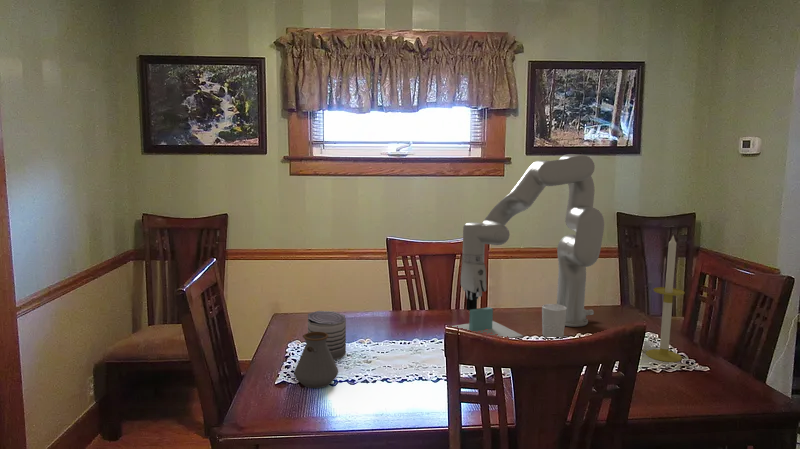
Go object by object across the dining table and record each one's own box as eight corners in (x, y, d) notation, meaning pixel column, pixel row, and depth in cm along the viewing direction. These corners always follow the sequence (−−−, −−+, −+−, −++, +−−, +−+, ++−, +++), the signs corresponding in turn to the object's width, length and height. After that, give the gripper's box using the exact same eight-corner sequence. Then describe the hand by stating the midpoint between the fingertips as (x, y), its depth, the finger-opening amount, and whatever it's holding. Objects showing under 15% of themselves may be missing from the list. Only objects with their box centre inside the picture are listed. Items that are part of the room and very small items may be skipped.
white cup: (567, 340, 188) (569, 310, 186) (543, 339, 188) (545, 310, 187) (561, 332, 196) (563, 303, 194) (538, 332, 196) (539, 303, 194)
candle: (685, 363, 169) (696, 237, 164) (649, 360, 171) (659, 235, 166) (676, 351, 179) (686, 232, 174) (642, 348, 181) (651, 230, 176)
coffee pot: (298, 373, 158) (297, 320, 156) (340, 373, 158) (339, 320, 156) (284, 408, 137) (283, 348, 135) (332, 409, 137) (332, 348, 135)
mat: (491, 321, 206) (491, 320, 206) (522, 337, 190) (522, 335, 190) (445, 328, 198) (445, 326, 198) (474, 345, 182) (474, 343, 182)
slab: (488, 326, 199) (489, 307, 198) (492, 328, 197) (492, 308, 196) (469, 329, 195) (469, 309, 194) (472, 331, 194) (472, 311, 193)
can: (323, 344, 181) (323, 307, 179) (353, 352, 175) (353, 313, 173) (299, 356, 171) (299, 317, 169) (330, 364, 165) (330, 323, 163)
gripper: (494, 261, 194) (492, 314, 196) (470, 253, 207) (469, 303, 210) (475, 263, 191) (474, 317, 193) (452, 255, 204) (451, 305, 206)
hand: (471, 309), depth 201 cm, fingers closed
